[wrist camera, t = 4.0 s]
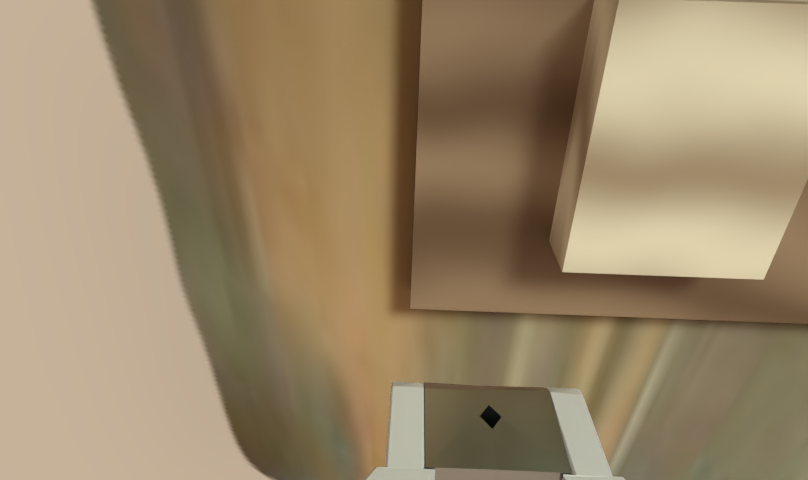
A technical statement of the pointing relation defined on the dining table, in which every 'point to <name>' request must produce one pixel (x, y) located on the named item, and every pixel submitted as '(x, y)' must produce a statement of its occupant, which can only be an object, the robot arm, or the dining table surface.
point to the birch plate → (685, 138)
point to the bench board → (537, 180)
